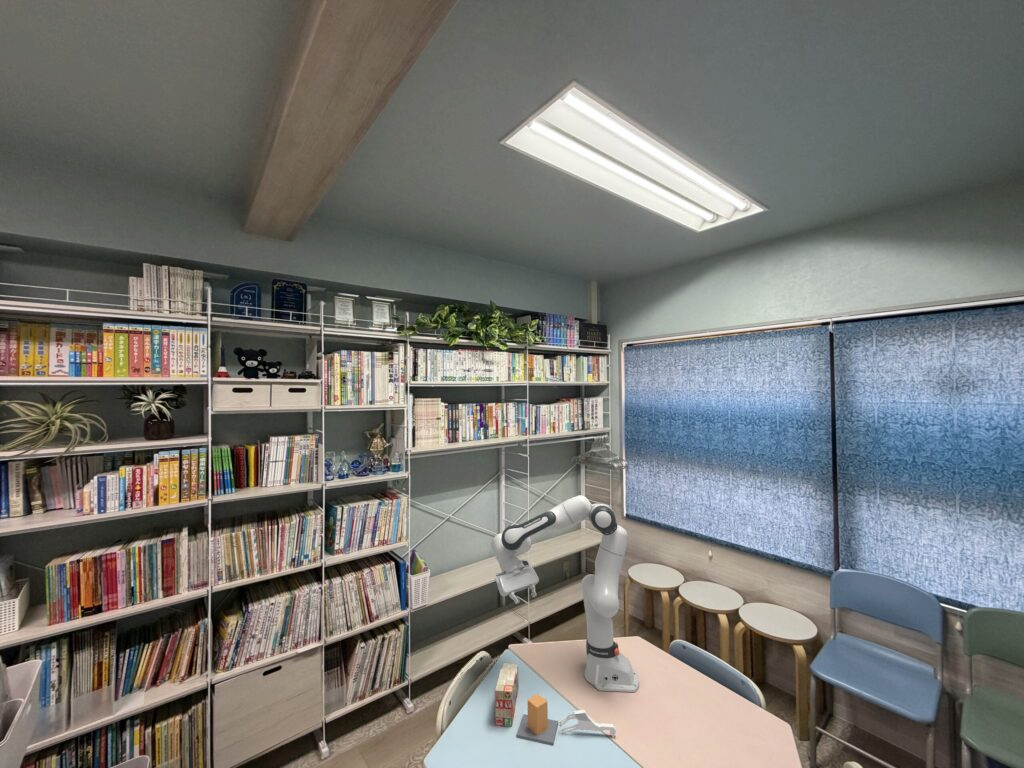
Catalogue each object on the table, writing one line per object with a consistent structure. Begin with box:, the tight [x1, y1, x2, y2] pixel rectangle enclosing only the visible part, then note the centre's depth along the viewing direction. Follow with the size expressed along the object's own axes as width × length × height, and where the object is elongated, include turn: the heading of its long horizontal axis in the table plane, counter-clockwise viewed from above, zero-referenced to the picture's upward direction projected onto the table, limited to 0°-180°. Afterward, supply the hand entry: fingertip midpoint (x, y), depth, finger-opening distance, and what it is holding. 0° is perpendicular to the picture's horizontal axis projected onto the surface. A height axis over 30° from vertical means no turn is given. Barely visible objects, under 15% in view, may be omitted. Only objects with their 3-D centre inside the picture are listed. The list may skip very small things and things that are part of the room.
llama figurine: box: [558, 709, 617, 739], centre depth 138 cm, size 2×11×18 cm
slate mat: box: [515, 713, 559, 746], centre depth 139 cm, size 13×10×1 cm
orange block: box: [527, 693, 549, 735], centre depth 140 cm, size 5×5×9 cm
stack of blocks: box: [494, 662, 519, 728], centre depth 152 cm, size 21×6×12 cm, turn 173°
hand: (526, 599), depth 168 cm, fingers open, 8 cm apart
